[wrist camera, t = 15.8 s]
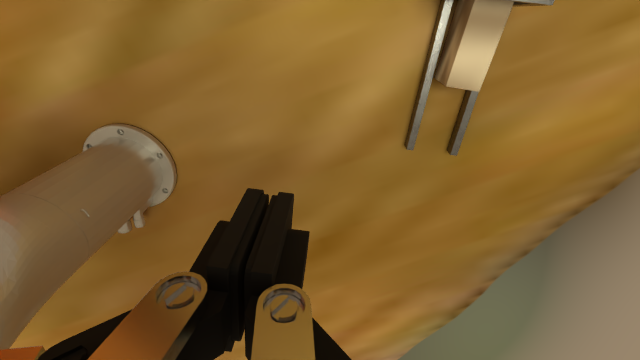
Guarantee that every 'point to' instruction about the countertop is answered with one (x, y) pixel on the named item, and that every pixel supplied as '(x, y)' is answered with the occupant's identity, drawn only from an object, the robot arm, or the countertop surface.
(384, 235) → the countertop surface
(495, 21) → the beige rectangular block
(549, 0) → the end cap
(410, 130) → the guide channel
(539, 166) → the countertop surface
